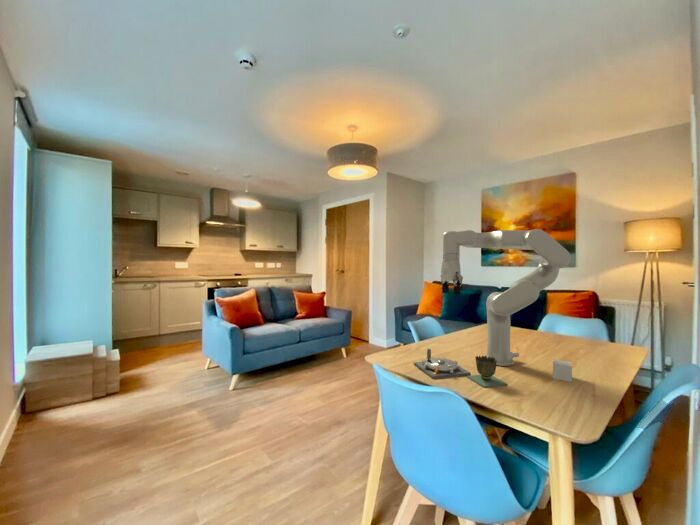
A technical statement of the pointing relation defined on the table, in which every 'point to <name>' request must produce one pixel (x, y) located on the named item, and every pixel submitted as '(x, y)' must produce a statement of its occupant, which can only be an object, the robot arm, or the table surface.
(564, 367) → the grey cube
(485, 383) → the seat mat
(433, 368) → the sprocket wheel
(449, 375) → the index board
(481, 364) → the cup
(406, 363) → the table surface
